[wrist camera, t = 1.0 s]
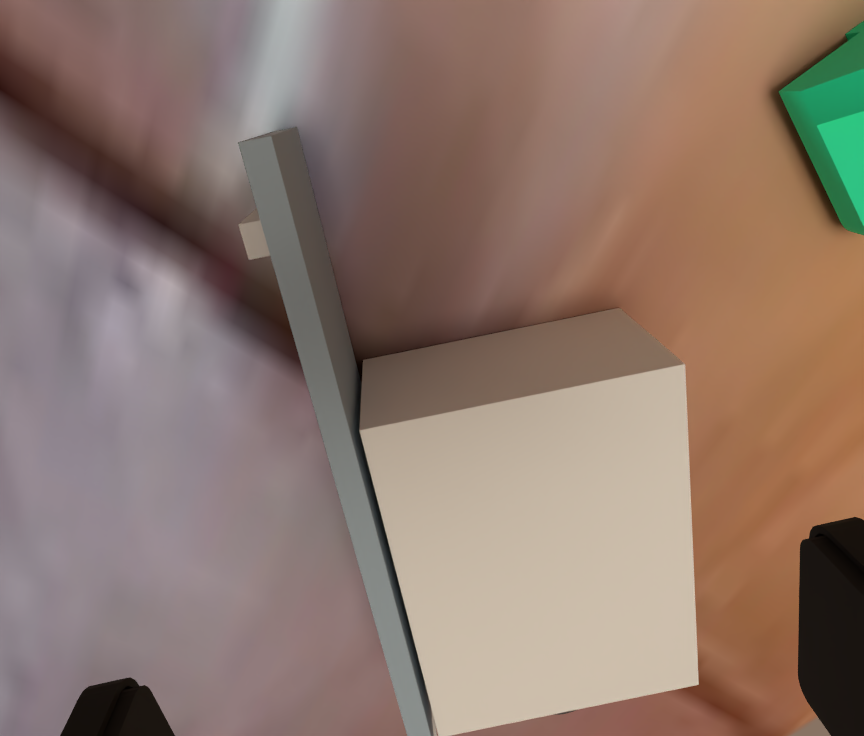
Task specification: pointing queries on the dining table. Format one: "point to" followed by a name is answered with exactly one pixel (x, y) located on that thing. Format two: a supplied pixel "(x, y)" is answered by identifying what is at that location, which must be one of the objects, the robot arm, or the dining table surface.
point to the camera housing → (538, 516)
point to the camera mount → (834, 125)
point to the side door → (331, 387)
